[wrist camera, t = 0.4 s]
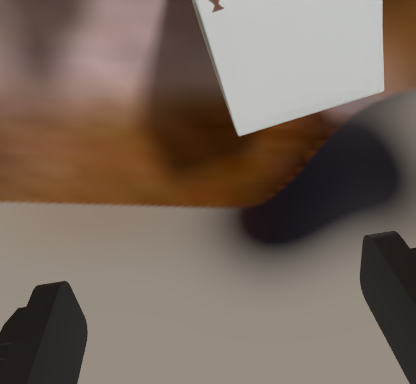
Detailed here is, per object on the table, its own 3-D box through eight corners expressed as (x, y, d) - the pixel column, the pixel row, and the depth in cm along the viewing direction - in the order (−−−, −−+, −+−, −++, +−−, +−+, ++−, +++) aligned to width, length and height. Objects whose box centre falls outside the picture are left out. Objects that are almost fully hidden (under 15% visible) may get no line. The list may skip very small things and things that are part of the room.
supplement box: (211, 50, 29) (232, 142, 19) (177, -66, 24) (182, -22, 14) (311, 17, 28) (387, 96, 18) (296, -109, 23) (386, -95, 14)
